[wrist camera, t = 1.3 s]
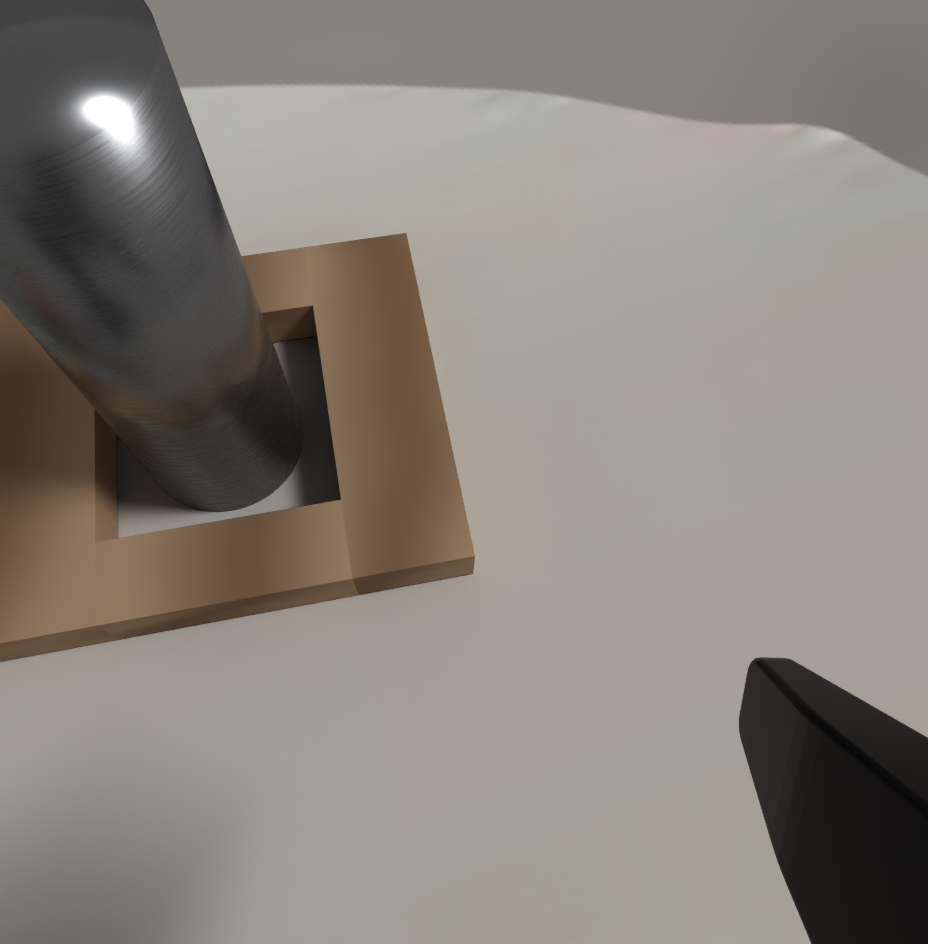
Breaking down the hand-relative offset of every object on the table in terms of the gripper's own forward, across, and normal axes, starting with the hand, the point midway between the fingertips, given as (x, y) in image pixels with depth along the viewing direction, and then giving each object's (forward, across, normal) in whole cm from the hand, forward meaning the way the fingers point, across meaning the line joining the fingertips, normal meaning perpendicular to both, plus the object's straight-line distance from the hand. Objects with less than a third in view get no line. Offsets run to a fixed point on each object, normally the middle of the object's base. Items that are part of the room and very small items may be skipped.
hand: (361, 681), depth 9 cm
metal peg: (+15, +6, +2) cm, 16 cm away
